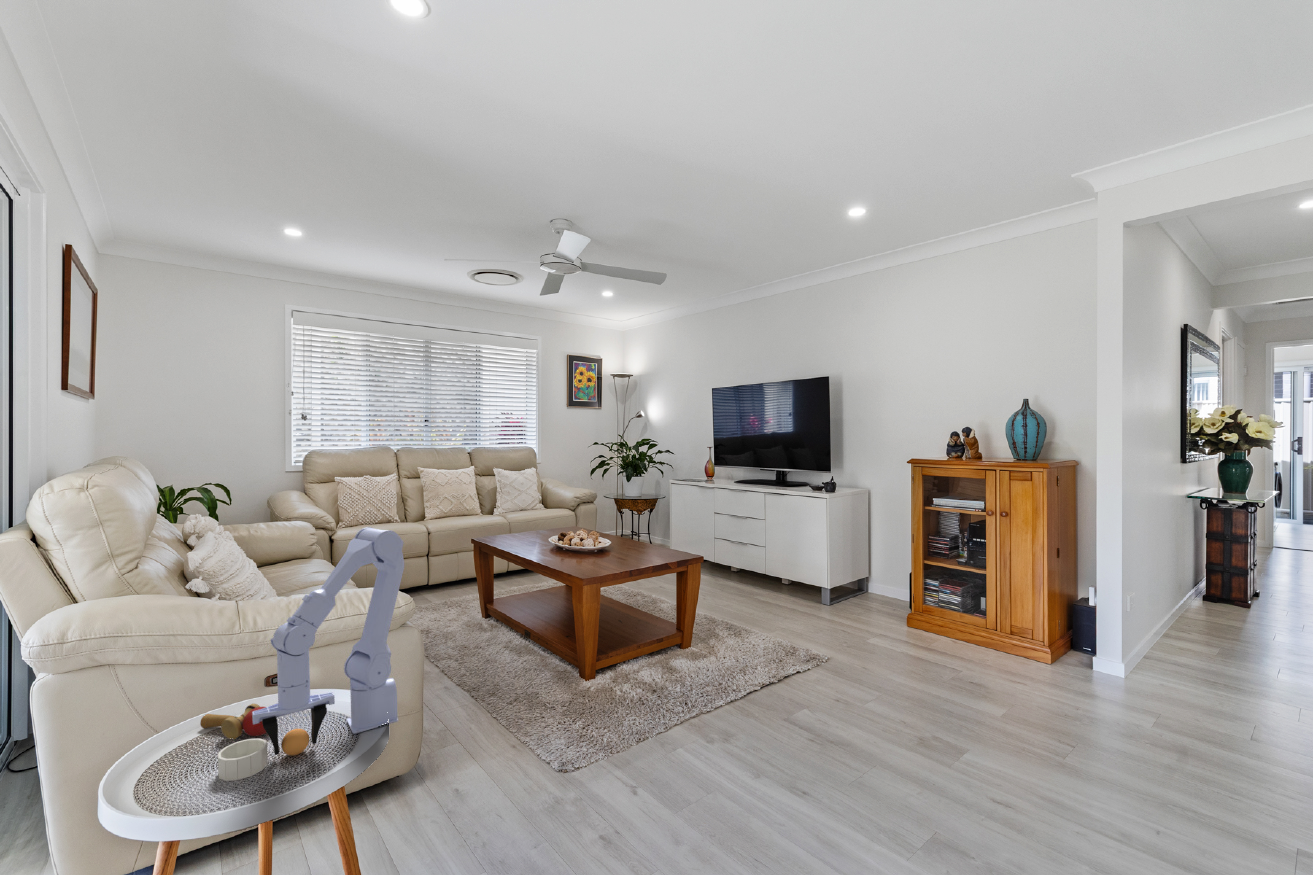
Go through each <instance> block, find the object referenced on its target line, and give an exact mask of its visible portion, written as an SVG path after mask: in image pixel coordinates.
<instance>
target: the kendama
mask: <svg viewBox="0 0 1313 875" xmlns="http://www.w3.org/2000/svg"><path fill="white" fill-rule="evenodd" d="M266 707H267V706H260V705H259V704H257V703H250V704H249V705H247V706H246V707H245V710H244V711H243V712H244V713H242V714H240V716H236V715H227V714H214V713H207V714H204V715H205V716H204V715H203V716H202V717H201V719H200V724H199V725H200V727H201V728H202V729H211V728H220V729H221V732H222V734H223V736H225V738H228V739H229V740H236V739H237V738H239V737H241V736H242V734H243V732H244V733H245V734H246V735H248V736H250V737H260V736H264V735H265V734H267V732H266V731H265V729H264V728H263V724H262V721H260V722H259V723H257V724H253V720H252V712H253V711H257V710H260V709H263V708H266ZM230 738H231V739H230ZM232 738H233V739H232Z"/></svg>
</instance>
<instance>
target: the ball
mask: <svg viewBox="0 0 1313 875" xmlns="http://www.w3.org/2000/svg"><path fill="white" fill-rule="evenodd" d="M309 744H310V735H309V733H308V731H306V730H305V729H303V728H293V729H292V730H289V731H288V732H287V733H286V734H285V735H284V736H283V738H282V740H281V745H280V746H281V750H282V752H284V753H285V754H286V755H288V756H290V757H291V756H297V755H300V754H301V753H303V752H304V751H305V750H306V749H307V747H308V745H309Z"/></svg>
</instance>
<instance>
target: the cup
mask: <svg viewBox="0 0 1313 875" xmlns="http://www.w3.org/2000/svg"><path fill="white" fill-rule="evenodd" d="M217 760H218V761H217V762H218V763H217V765H218V766H217V767H218V770H217V771H218V779H219V780H221V781H225V782H229V781H231V782H232V781H241V780H243V779H246V778H250V777H252V776H254V775H256V774H258V773H259V772H262V771H263V770H264V769H265V768H266V767H267V766H268V762H269V761H268V742H267V739H262V738H259V737H258V738H247V739H244V740H240V741H236V742H234V743H231V744H229V745H227V746H225V747H223V748H222V749H221V750H219V752H217Z"/></svg>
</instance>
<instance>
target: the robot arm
mask: <svg viewBox="0 0 1313 875" xmlns="http://www.w3.org/2000/svg"><path fill="white" fill-rule="evenodd" d="M404 542H405V541H404V540H402V538H401V537H400V535H399V534H398V533H397V532H396V531H394V530H390V529H389V530H388V529H378V528H374V527H370V526H366V527H363V528H361V529H359V530H358V531H357V533H356V534H355V536H354V538H352V539H351V540H350V541H349V542H348V545H347V548H346V551H345V552H344V554H343V556H342V557H341V558H340V560H339V562H338V563H337V564H336V566H335V567H334V568H333V570H332V571H331V573H330V574H329V576H327V579H326V580H325V582H324V583H323V584H322V586H321V587H320V588H318V589H315V590H312V591H310V593H309V594H305V595H304V596H303V597H302V603H301V604H300V605H299V606H298V607H297V609H296V610H295V612H294V613H293V614H292V616H288V618H287V619H286V622H285V623H283V624H281V625H280V626H279V627H278V628H277V629H276V630H275V632H274V633H273V636H272V637H273V638H270V644H271V646H272V647H273V649H275V650H276V657H277V658H276V660H277V661H276V664H277V665H276V669H277V670H276V672H277V703H275V704H271V705H269V706H265V707H266V708H263V709H260V710H257V711H253V712H252V720H253V724H257V723H259V722H260V721H262V724H263V728H264V729H265V731H266V732H267V733H266V734H267V735H268V737H269V738H270V741H271V743H272V746H273V751H274V755H275V756H276V755H279V754H280V745H279V744H280V743H279V725H278V718H280V717H283V716H288V715H291V714H295V713H299V712H303V711H307V710H310V716H311V728H310V729H311V733H310V738H311V740H310V741H311V743H312V745H315V744H317V743H318V742H317V741H318V736H319V732H320V729H321V726H322V723H323V720H324V718H326V715H327V712H328V708H327V706H328V705H329V706H333V705H335V701H336V700H335V693H334V692H333V691H331V692H326V693H319V694H312V695H311V676H310V675H311V673H310V672H311V671H310V648H311V647H312V646H314V643H315V640H316V633H317V631H318V629H319V627H320V626H322V624H323V622H324V621H325V620H326V618H327V617H328V616H329V614H330V613H331V612H332V610H333V609H334V608H335V606H336V596H337V595H338V594H339V593H340V591H341V590H342V589H343V587H345V586H346V584H347V583H348V582H349V581H350V579H351V578H353V576H354V574H355V573H357V571H359V570H360V568H361V567H363V566H366V565H370V564H373V566H375V569H377V573H376V577H375V582H374V584H373V591H372V593H371V597H370V601H369V606H368V608H367V614H366V617H365V621H364V626H363V630H362V634H361V637H360V639H359V640H358V641H357V642H355V644H353V646H352V649H351V652H350V655H349V656H348V657H347V659H346V660H345V662H344V665H343V670H344V671H343V673H344V675H345V676H346V677H347V678H349V684H350V685H349V688H350V689H349V690H350V717H348V718H347V719H346V723H347V725H348V727H349V729H350V731H351V733H352V734H354V735H355V734H360V733H363V732H365V731H369V730H372V729H377V728H379V727H378V726H380V727H382V726H381V725H382V724H385V723H386V724H387V723H388V722H387V721H388V719H389V724H387V725H391V724H394V723H398V722H399V718H398V691H397V684H396V681H395V679H394V678H393V677H390V675H391V672H392V666H391V656H392V650H391V649H390V646H389V645H388V643H387V641H388V636H389V632H390V629H391V628H390V627H391V624H392V620H393V616H394V611H395V608H396V603H397V599H398V595H399V594H398V593H399V590H400V586H401V581H402V578H403V573H404V569H405V559H404V554H403V547H404ZM387 712H388V713H387Z"/></svg>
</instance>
